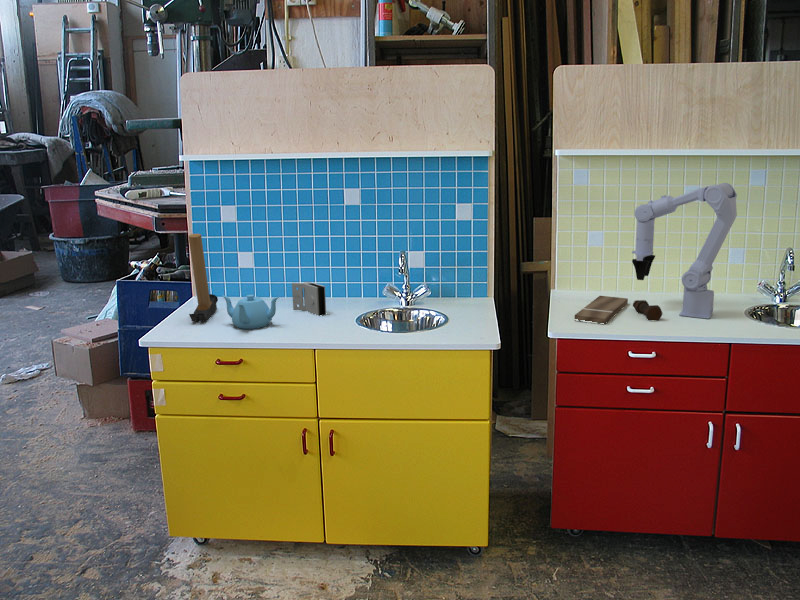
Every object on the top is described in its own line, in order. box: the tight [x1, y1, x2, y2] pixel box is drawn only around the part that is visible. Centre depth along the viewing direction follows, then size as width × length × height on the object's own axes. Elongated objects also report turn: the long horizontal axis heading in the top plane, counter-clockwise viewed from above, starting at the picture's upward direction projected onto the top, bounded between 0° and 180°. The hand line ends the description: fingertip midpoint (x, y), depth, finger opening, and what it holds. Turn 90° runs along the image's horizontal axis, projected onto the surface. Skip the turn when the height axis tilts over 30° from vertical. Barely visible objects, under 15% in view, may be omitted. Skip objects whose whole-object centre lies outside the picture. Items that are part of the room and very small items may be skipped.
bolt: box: [632, 299, 663, 321], centre depth 252 cm, size 6×5×15 cm
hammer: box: [188, 233, 219, 322], centre depth 256 cm, size 20×5×30 cm, turn 0°
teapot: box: [221, 294, 281, 330], centre depth 248 cm, size 15×15×10 cm
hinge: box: [291, 281, 327, 316], centre depth 264 cm, size 14×5×10 cm, turn 51°
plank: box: [574, 295, 629, 325], centre depth 257 cm, size 10×30×2 cm, turn 150°
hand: (642, 277), depth 262 cm, fingers open, 7 cm apart
